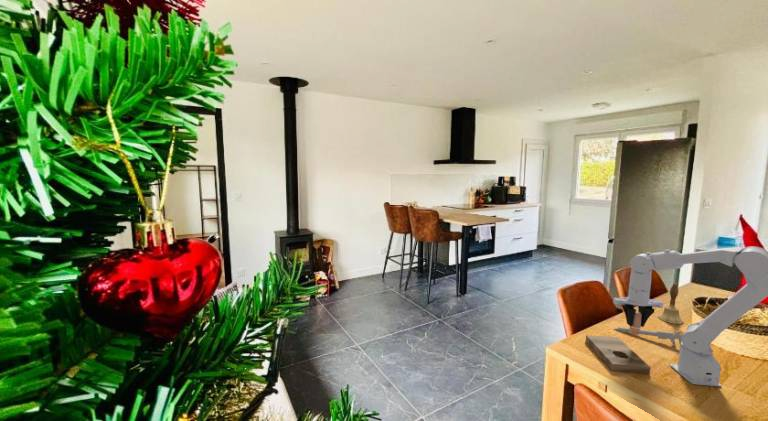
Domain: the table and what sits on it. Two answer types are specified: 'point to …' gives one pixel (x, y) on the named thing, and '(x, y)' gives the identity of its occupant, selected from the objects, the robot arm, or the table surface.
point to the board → (617, 354)
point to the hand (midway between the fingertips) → (635, 325)
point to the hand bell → (671, 309)
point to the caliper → (657, 334)
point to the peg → (636, 324)
